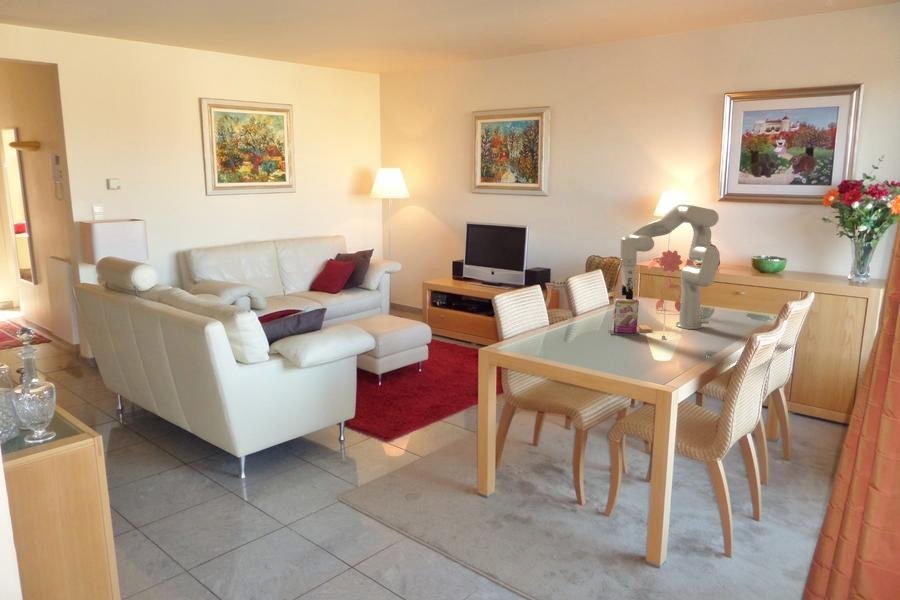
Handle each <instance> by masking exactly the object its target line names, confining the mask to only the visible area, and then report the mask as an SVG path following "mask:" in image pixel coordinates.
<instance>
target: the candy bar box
mask: <svg viewBox="0 0 900 600" xmlns="http://www.w3.org/2000/svg"><path fill="white" fill-rule="evenodd" d="M638 313H639V300H638V299H636V298H633V299H632V300H626V298H614V300H613V313H612V314H613V316H612V317H613V318H612V330H613V332H614V333H636V331H638V330H637V325H638V315H639V314H638Z"/></svg>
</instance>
